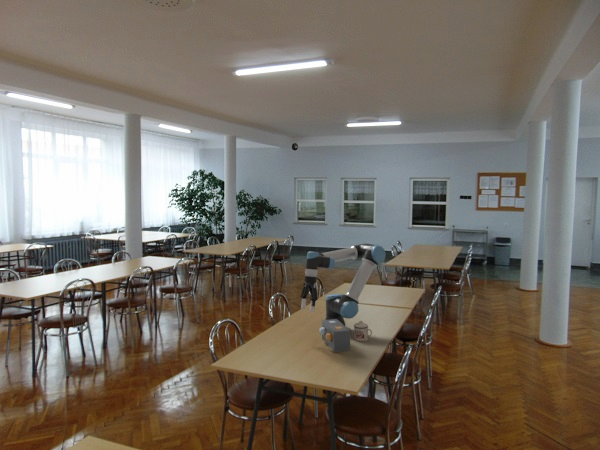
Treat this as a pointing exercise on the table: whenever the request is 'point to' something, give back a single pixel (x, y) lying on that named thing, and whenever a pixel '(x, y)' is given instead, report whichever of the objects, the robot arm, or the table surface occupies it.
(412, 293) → the table surface
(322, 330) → the pale blue button
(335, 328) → the button console
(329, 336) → the orange button
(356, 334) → the teacup with lid
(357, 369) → the table surface
